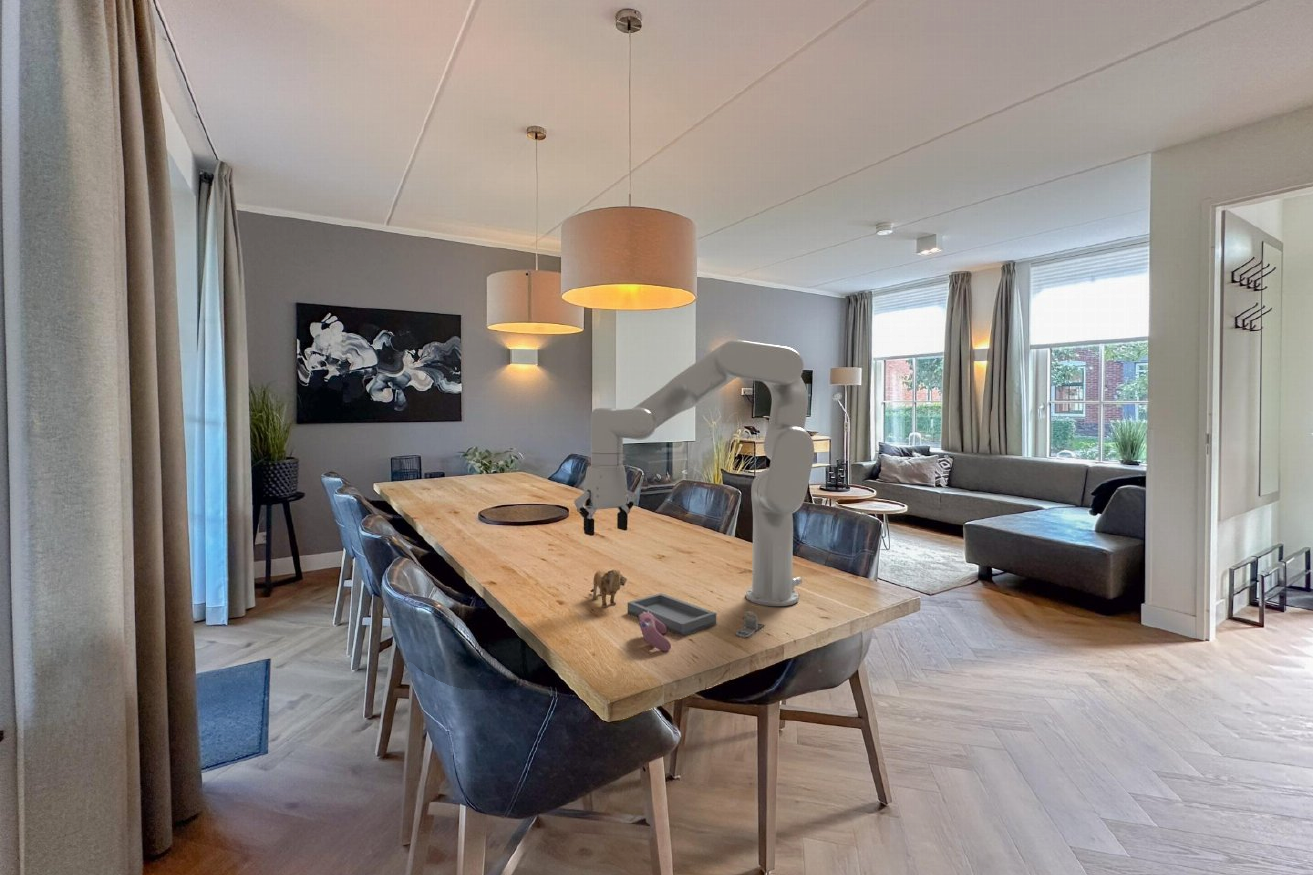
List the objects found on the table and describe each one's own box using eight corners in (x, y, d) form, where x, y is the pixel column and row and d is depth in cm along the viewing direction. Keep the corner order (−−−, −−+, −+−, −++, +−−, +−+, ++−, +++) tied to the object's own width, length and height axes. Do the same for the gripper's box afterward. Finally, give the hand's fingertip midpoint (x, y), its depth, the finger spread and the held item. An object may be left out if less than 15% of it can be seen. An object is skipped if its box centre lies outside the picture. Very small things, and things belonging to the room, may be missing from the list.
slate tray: (660, 603, 140) (660, 593, 139) (716, 624, 126) (716, 613, 126) (627, 613, 133) (627, 602, 133) (682, 636, 119) (682, 624, 119)
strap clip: (748, 640, 118) (748, 619, 118) (734, 637, 120) (734, 616, 120) (765, 627, 125) (766, 608, 125) (752, 624, 127) (753, 605, 127)
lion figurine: (629, 608, 137) (629, 569, 136) (609, 612, 134) (609, 573, 133) (599, 591, 149) (599, 556, 148) (580, 595, 146) (580, 559, 145)
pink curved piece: (648, 640, 121) (633, 611, 121) (667, 630, 122) (652, 600, 121) (652, 661, 112) (635, 629, 111) (673, 649, 112) (656, 618, 111)
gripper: (625, 457, 147) (625, 525, 148) (566, 460, 136) (566, 534, 137) (645, 459, 142) (644, 530, 142) (585, 463, 130) (584, 539, 131)
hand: (606, 532), depth 140 cm, fingers open, 9 cm apart
